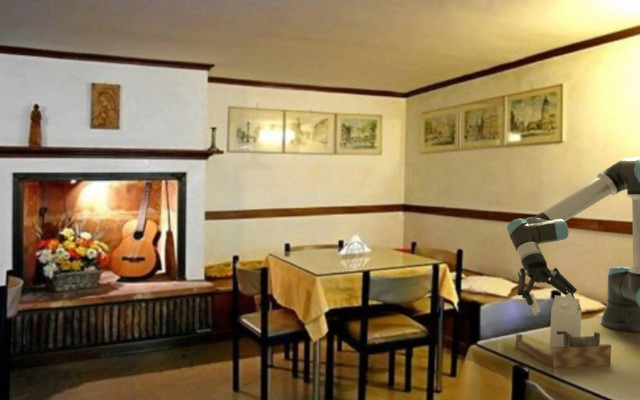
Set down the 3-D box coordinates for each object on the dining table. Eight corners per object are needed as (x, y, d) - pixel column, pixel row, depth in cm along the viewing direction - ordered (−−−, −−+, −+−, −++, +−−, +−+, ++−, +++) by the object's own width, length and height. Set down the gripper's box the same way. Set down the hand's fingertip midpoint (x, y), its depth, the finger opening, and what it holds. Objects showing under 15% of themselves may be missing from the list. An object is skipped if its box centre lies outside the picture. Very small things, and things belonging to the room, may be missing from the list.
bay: (566, 343, 174) (567, 312, 173) (612, 365, 153) (614, 330, 153) (515, 345, 170) (516, 314, 170) (556, 369, 150) (557, 333, 149)
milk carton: (555, 351, 166) (557, 293, 165) (579, 356, 161) (582, 297, 160) (549, 357, 160) (551, 297, 159) (573, 362, 156) (576, 301, 155)
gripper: (558, 264, 181) (585, 318, 167) (494, 264, 177) (516, 319, 163) (569, 251, 176) (598, 306, 162) (503, 251, 171) (526, 307, 157)
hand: (557, 313), depth 162 cm, fingers open, 13 cm apart
